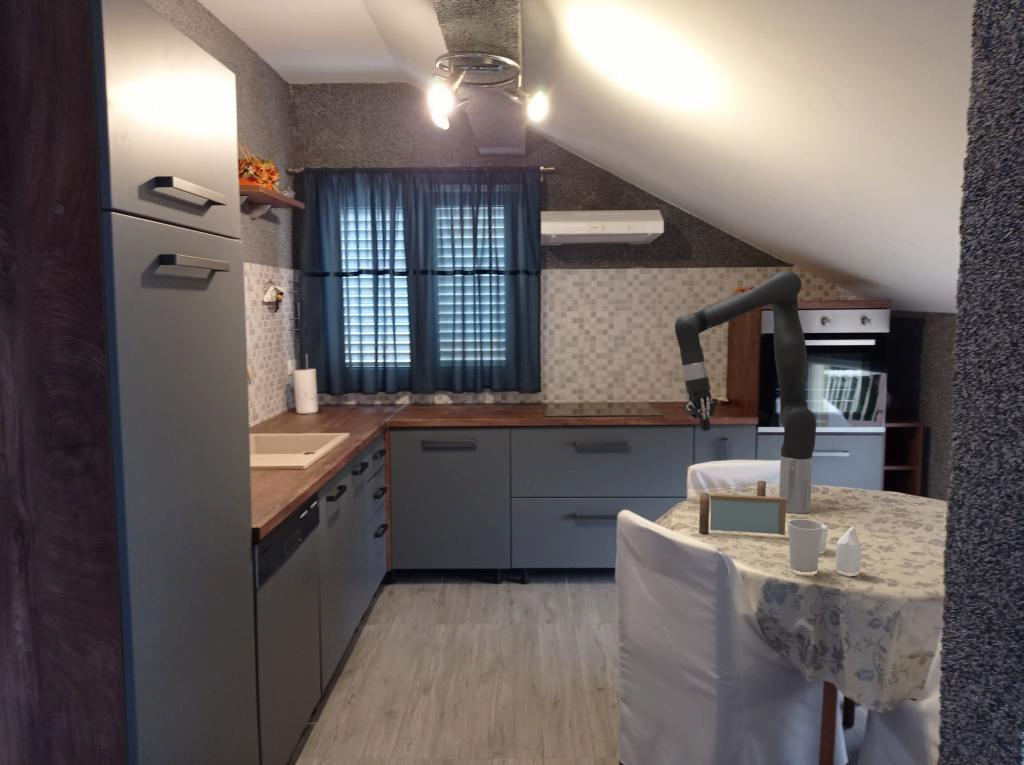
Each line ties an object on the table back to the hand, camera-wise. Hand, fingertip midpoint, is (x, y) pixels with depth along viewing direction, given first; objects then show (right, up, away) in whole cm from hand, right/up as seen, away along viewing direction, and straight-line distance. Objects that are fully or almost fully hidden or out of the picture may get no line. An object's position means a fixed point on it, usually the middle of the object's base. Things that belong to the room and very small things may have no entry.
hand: (706, 430), depth 223 cm
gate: (+5, -27, -24) cm, 37 cm away
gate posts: (+4, -27, -15) cm, 31 cm away
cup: (+10, -32, -50) cm, 60 cm away
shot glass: (+19, -30, -36) cm, 50 cm away
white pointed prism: (+21, -32, -51) cm, 63 cm away
